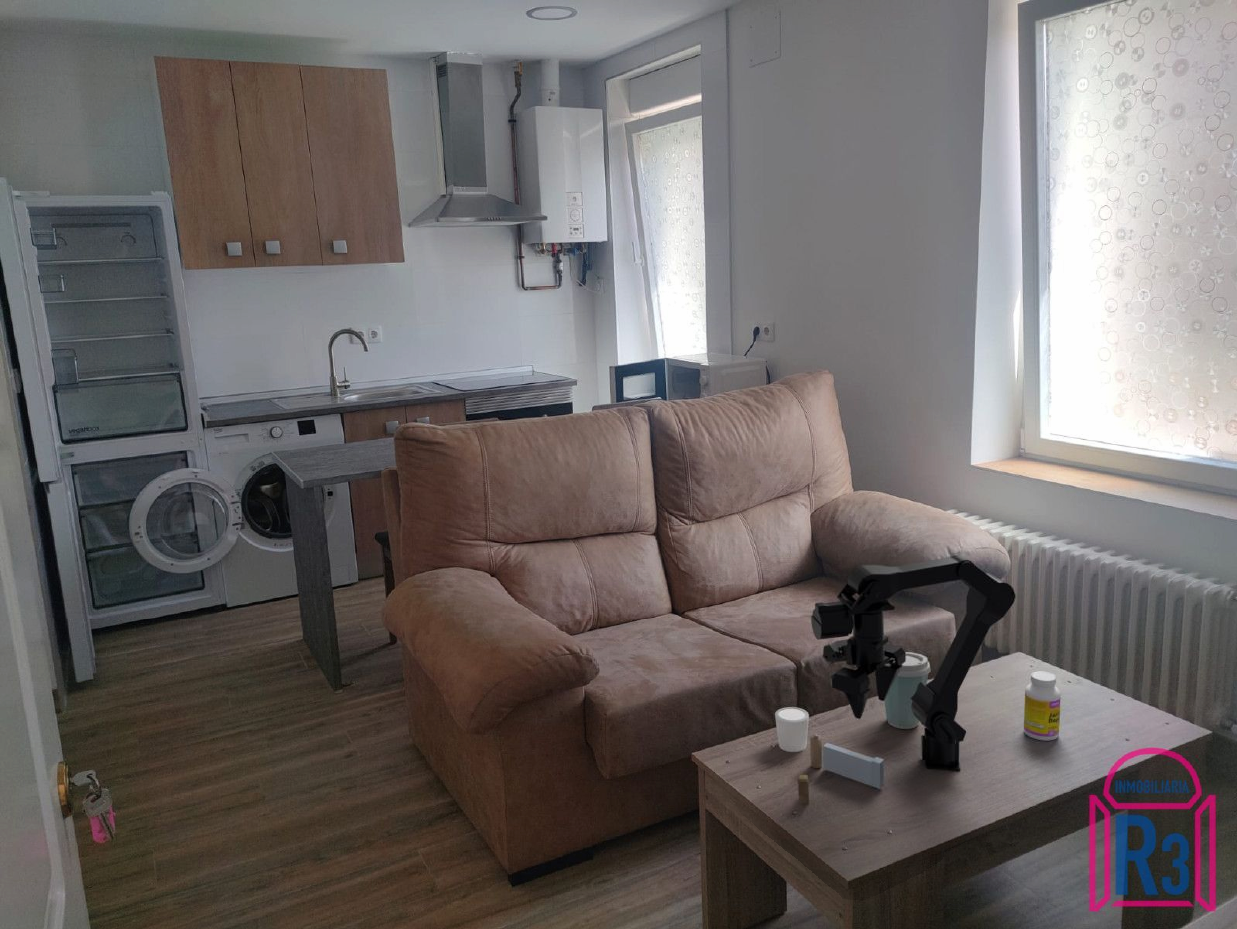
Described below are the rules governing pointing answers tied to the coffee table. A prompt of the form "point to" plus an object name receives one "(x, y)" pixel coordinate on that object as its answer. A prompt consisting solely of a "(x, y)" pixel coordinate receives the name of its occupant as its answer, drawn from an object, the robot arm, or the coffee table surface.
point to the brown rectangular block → (803, 789)
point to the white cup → (792, 728)
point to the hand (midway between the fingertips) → (870, 709)
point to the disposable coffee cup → (906, 691)
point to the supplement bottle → (1042, 707)
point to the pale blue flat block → (847, 762)
